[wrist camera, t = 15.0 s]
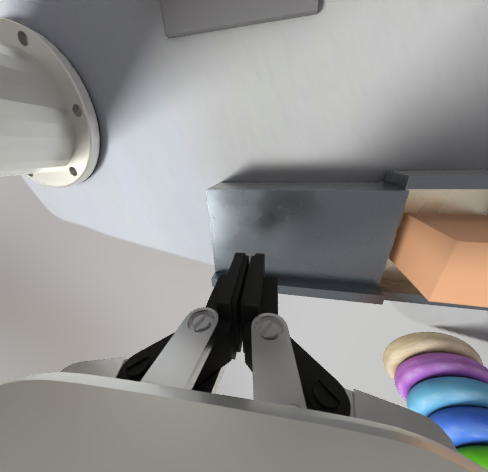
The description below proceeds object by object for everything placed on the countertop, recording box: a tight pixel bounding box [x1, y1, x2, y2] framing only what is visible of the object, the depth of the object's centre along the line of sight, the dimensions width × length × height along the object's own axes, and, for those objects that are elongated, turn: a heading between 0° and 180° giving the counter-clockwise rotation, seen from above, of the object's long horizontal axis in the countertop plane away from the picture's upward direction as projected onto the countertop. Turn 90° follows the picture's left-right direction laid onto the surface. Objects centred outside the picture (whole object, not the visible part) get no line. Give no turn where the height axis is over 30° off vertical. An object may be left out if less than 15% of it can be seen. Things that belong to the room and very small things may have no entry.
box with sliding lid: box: [206, 169, 488, 311], centre depth 15 cm, size 22×10×4 cm, turn 92°
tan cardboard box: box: [389, 212, 488, 307], centre depth 12 cm, size 5×4×5 cm
